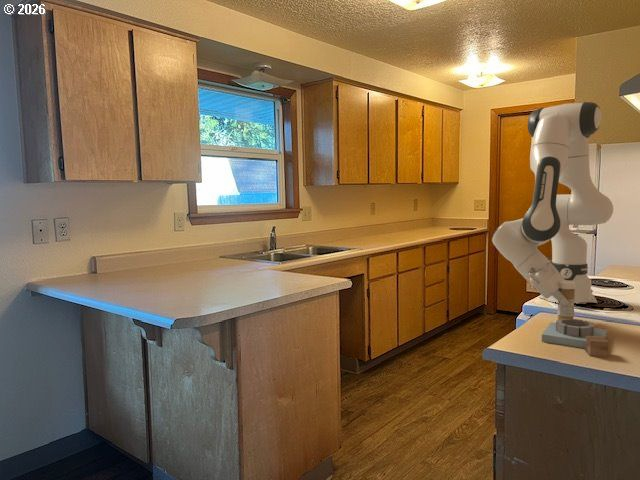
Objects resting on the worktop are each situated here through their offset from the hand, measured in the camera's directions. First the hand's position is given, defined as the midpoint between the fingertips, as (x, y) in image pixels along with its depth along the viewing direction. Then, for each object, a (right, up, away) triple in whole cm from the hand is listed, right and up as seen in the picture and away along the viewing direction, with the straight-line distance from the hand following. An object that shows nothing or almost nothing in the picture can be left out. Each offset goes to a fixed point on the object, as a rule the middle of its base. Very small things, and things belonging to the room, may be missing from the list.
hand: (568, 301), depth 139 cm
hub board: (-5, -9, -12) cm, 15 cm away
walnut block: (-6, -10, -23) cm, 26 cm away
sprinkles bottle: (0, -8, +1) cm, 8 cm away
